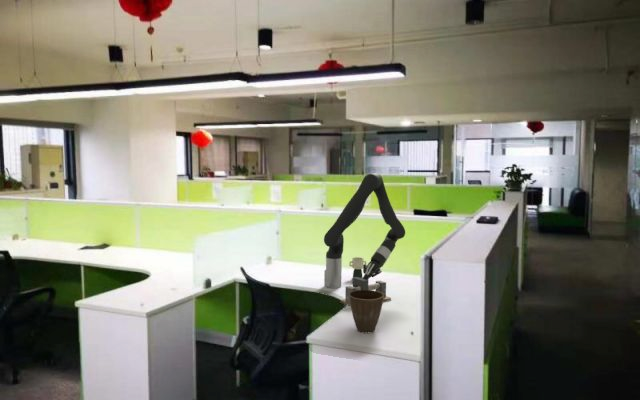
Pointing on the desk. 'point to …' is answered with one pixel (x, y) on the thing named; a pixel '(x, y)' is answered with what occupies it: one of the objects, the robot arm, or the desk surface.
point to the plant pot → (366, 309)
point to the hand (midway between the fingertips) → (363, 281)
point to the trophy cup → (357, 266)
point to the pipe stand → (379, 287)
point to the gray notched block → (360, 283)
